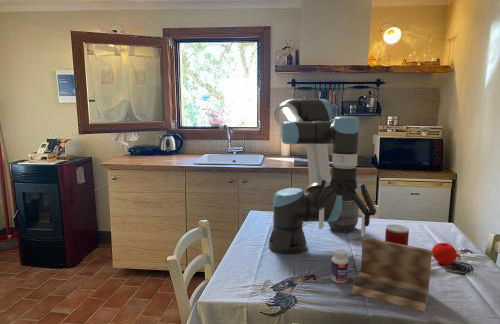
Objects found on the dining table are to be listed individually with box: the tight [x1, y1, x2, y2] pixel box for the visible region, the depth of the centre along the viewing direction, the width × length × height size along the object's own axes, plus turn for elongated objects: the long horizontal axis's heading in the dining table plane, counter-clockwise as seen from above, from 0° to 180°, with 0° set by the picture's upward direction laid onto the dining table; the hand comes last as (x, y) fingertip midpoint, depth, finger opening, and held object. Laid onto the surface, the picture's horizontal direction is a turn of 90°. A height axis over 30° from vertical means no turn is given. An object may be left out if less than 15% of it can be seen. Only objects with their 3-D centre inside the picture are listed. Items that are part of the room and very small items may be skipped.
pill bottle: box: [330, 248, 349, 284], centre depth 116 cm, size 5×5×10 cm
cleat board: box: [352, 236, 433, 312], centre depth 107 cm, size 20×11×14 cm, turn 59°
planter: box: [326, 195, 360, 233], centre depth 162 cm, size 14×14×15 cm
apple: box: [431, 242, 458, 266], centre depth 127 cm, size 8×8×7 cm
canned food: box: [384, 224, 410, 246], centre depth 133 cm, size 8×8×11 cm
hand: (341, 231), depth 114 cm, fingers open, 13 cm apart
